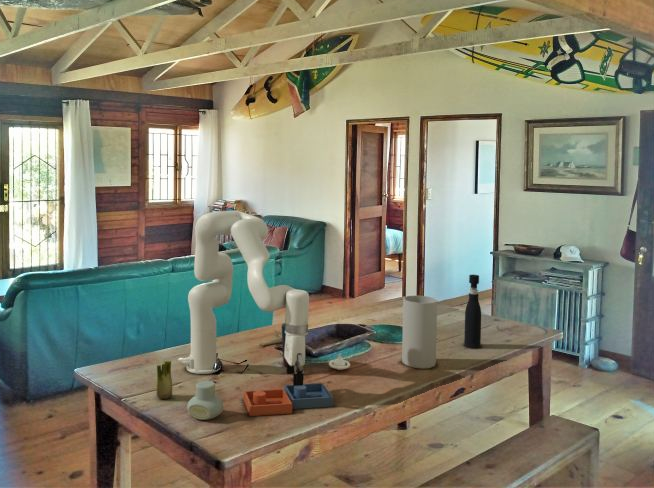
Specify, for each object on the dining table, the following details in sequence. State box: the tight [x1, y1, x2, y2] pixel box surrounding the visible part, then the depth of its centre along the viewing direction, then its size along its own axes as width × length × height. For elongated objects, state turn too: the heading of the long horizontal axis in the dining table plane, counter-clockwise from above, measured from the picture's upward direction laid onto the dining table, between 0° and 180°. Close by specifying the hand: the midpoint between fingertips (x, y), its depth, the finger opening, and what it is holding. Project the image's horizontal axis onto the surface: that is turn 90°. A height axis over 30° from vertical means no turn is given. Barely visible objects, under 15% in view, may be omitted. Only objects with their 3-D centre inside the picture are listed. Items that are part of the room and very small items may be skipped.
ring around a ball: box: [328, 353, 351, 371], centre depth 224 cm, size 8×6×8 cm
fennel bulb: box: [155, 360, 173, 400], centre depth 196 cm, size 6×5×12 cm
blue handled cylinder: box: [294, 385, 322, 399], centre depth 195 cm, size 9×4×4 cm, turn 100°
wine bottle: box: [463, 274, 482, 349], centre depth 252 cm, size 6×6×30 cm
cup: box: [281, 322, 298, 367], centre depth 229 cm, size 7×7×15 cm
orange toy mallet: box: [253, 390, 282, 406], centre depth 190 cm, size 9×4×4 cm, turn 100°
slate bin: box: [283, 382, 334, 410], centre depth 195 cm, size 13×12×3 cm
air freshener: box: [186, 380, 224, 421], centre depth 183 cm, size 11×8×10 cm
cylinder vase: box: [401, 295, 438, 370], centre depth 230 cm, size 12×12×25 cm
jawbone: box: [258, 329, 282, 347], centre depth 257 cm, size 9×20×2 cm, turn 161°
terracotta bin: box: [243, 388, 293, 417], centre depth 190 cm, size 13×12×3 cm
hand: (294, 379), depth 197 cm, fingers open, 9 cm apart
